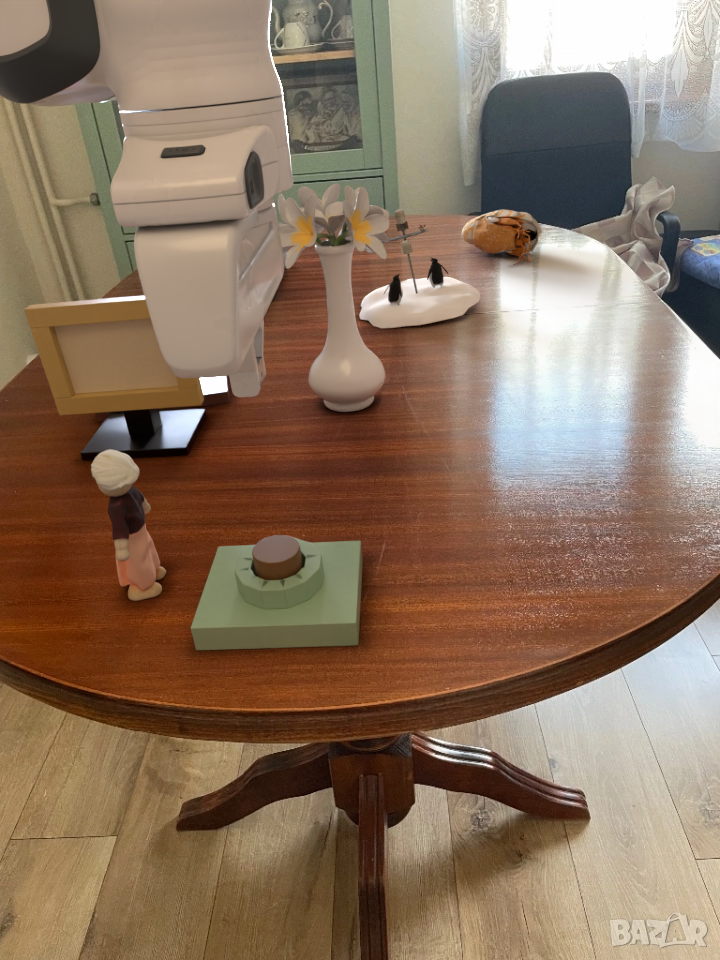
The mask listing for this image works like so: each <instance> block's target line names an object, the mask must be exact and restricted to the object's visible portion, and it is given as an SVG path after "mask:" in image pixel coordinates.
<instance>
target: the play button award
mask: <svg viewBox="0 0 720 960" xmlns="http://www.w3.org/2000/svg"><path fill="white" fill-rule="evenodd" d="M200 383H201V387H202V391H203V396H204V401H203V403H202V405H200V406H186V407H172V408H158V409H159V411H175V410H190V409H197V408H203V407H208V406H209V407H210V406H216V405H223V404H229V403H231V402H230V401H231V400H230V390H229V380H228V376H220V377H208V378H200ZM120 413H123V411H115V412H101V413H95V414H96V418H97V421H98V422H97V423H101V422H104V421H105V420H106V418H107V417H108V416H109V415H110V414H120Z"/></svg>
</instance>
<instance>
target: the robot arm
mask: <svg viewBox="0 0 720 960" xmlns="http://www.w3.org/2000/svg"><path fill="white" fill-rule="evenodd" d="M272 3H273V1H272V0H0V97H2V98H4V99H6V100H8V101H10V102H13V103H16V104H23V105H24V104H25V105H31V106H37V107H45V108H47V107H48V108H49V107H64V106H75V105H79V104H101V103H106V102H107V103H108V102H113V101H114V102H115V101H117V106H118V111H119V117H120V123H121V126H122V130H123V134H124V139H123V142H122V143H123V144H122V154H121V159H120V162H119V164H118V167H117V169H116V171H115V172H114V175H113V177H112V180H111V182H110V189H109V190H110V197H111V203H112V206H113V211H114V215H115V218H116V221H117V223H118V225H119V226H121V227H122V228H136V230H135V233H134V237H133V251H134V259H135V264H136V268H137V273H138V278H139V281H140V285H141V287H142V288H141V289H142V292H143V295H144V296H145V300H146V303H147V307H148V311H149V314H150V318H151V321H152V324H153V328H154V331H155V334H156V338H157V341H158V344H159V347H160V350H161V353H162V355H163V358H164V360H165V361H166V363H167V365H168V366H169V367H170V369H171V370H172V372H173V373H174V374H175V375H176V376H177V377H179V378H208V377H220V376H227V377H229V383H230V388H231V392H232V395H234V396H235V397H236V398H253V397H257V396H258V395H259V394H260V392H261V389H262V386H263V383H264V381H265V378H266V376H267V369H266V363H265V356H264V351H265V350H264V347H265V322H264V318H265V316H266V314H267V312H268V310H269V307H270V306H271V303H272V301H273V300H274V299H273V297H274V295H275V293H276V290H277V288H278V289H279V287H280V284H281V282H282V279H283V278H284V274H285V268H284V260H283V251H282V245H281V238H280V232H279V226H278V223H279V220H278V215H277V208H276V203H275V198H274V196H275V195H278V194H282V193H283V192H286V191H288V190H289V189H291V188H292V187H293V185H294V176H293V167H292V160H291V152H290V141H289V133H288V132H289V131H288V125H287V123H288V122H287V115H286V108H285V101H284V92H283V90H284V89H283V86H282V83H281V80H280V77H279V74H278V72H277V69H276V67H275V63H274V59H273V56H272V52H271V45H270V21H271V13H272V6H273V5H272ZM278 286H279V287H278Z"/></svg>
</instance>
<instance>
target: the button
mask: <svg viewBox="0 0 720 960" xmlns="http://www.w3.org/2000/svg"><path fill="white" fill-rule="evenodd" d="M295 538H296V537H293V536H291V535H286V534H277V535H270V536H267V537H263V538H262V539H260V540H259V541H257V542H256V544H254V545H255V546H254V547H253V550H252V555H253V561H254V566H255V571H256V574H257V575H258V576H259V577H260V578H262V579H264V580H283V579H286V578H288V577H291V576H294V575H296V574H297V573H298V572H299V571H300V570H301V568H302V558H301V551H300V544H299V542H298V541H297V540H296V539H295Z"/></svg>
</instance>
